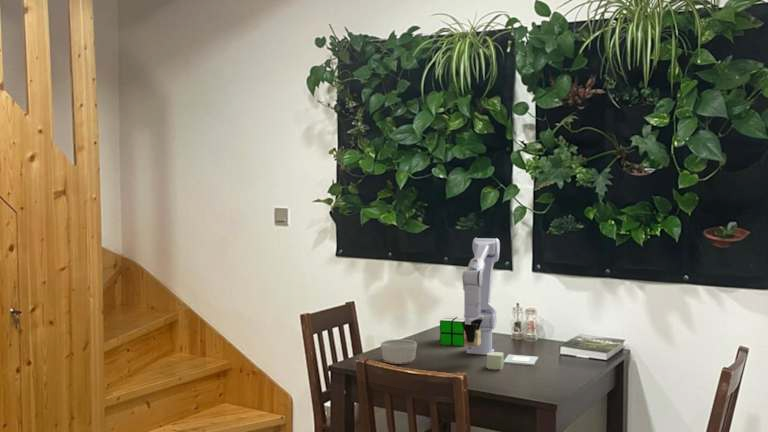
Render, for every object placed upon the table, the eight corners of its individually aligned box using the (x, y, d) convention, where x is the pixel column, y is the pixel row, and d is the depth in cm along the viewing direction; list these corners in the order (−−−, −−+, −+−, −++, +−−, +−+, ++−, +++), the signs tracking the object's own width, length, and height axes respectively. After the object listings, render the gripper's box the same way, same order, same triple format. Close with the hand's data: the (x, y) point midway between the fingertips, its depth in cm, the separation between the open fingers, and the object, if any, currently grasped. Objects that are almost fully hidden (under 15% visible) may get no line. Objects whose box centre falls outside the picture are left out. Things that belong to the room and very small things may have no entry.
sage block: (486, 368, 260) (486, 354, 260) (489, 365, 265) (489, 351, 265) (501, 370, 259) (501, 355, 258) (503, 366, 263) (503, 352, 263)
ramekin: (392, 355, 280) (392, 337, 280) (423, 359, 273) (423, 341, 273) (374, 363, 269) (374, 344, 268) (406, 368, 262) (406, 348, 262)
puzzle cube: (469, 341, 303) (469, 317, 302) (464, 346, 293) (464, 321, 293) (445, 339, 306) (445, 315, 306) (439, 345, 297) (439, 320, 296)
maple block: (463, 345, 266) (464, 331, 266) (467, 342, 271) (467, 329, 270) (477, 346, 264) (477, 332, 264) (480, 343, 269) (480, 330, 269)
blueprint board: (503, 363, 268) (503, 361, 267) (508, 356, 278) (508, 354, 278) (533, 365, 264) (533, 363, 264) (538, 358, 274) (538, 356, 274)
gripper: (478, 307, 258) (478, 345, 259) (487, 300, 272) (487, 336, 273) (459, 306, 261) (459, 344, 262) (468, 299, 274) (468, 335, 275)
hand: (472, 340), depth 267 cm, fingers closed on maple block, 5 cm apart
